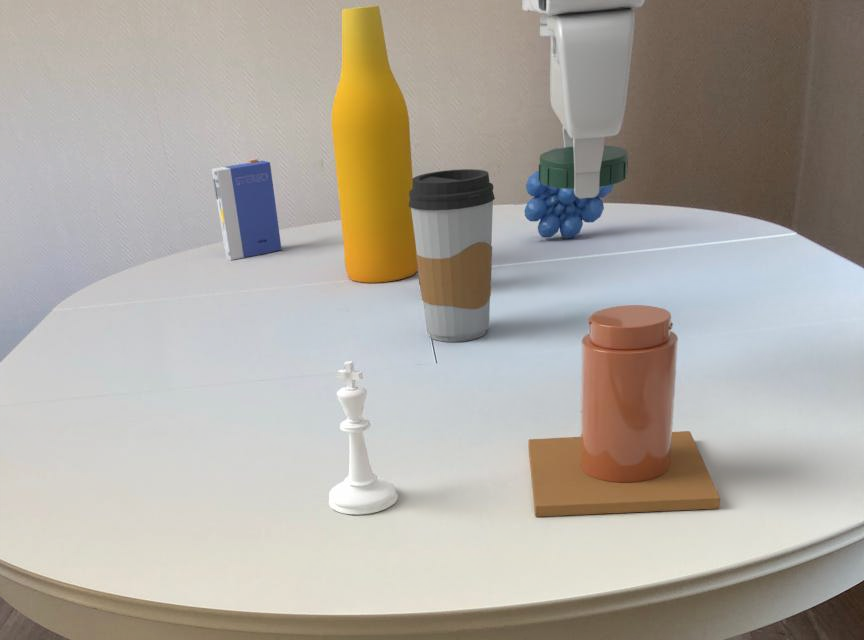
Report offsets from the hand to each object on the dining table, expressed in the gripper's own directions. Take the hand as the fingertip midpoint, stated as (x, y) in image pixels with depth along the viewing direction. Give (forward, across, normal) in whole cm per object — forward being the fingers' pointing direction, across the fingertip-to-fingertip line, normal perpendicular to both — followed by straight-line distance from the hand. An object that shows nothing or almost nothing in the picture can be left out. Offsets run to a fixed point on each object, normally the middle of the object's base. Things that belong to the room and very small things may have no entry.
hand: (581, 187), depth 82 cm
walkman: (+17, -66, -40) cm, 79 cm away
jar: (+15, +18, +2) cm, 24 cm away
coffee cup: (+17, -20, -10) cm, 28 cm away
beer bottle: (+17, -48, -20) cm, 55 cm away
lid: (-2, 0, 0) cm, 2 cm away
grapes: (+16, -62, +4) cm, 64 cm away
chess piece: (+17, +20, -17) cm, 31 cm away
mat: (+16, +18, +1) cm, 25 cm away
